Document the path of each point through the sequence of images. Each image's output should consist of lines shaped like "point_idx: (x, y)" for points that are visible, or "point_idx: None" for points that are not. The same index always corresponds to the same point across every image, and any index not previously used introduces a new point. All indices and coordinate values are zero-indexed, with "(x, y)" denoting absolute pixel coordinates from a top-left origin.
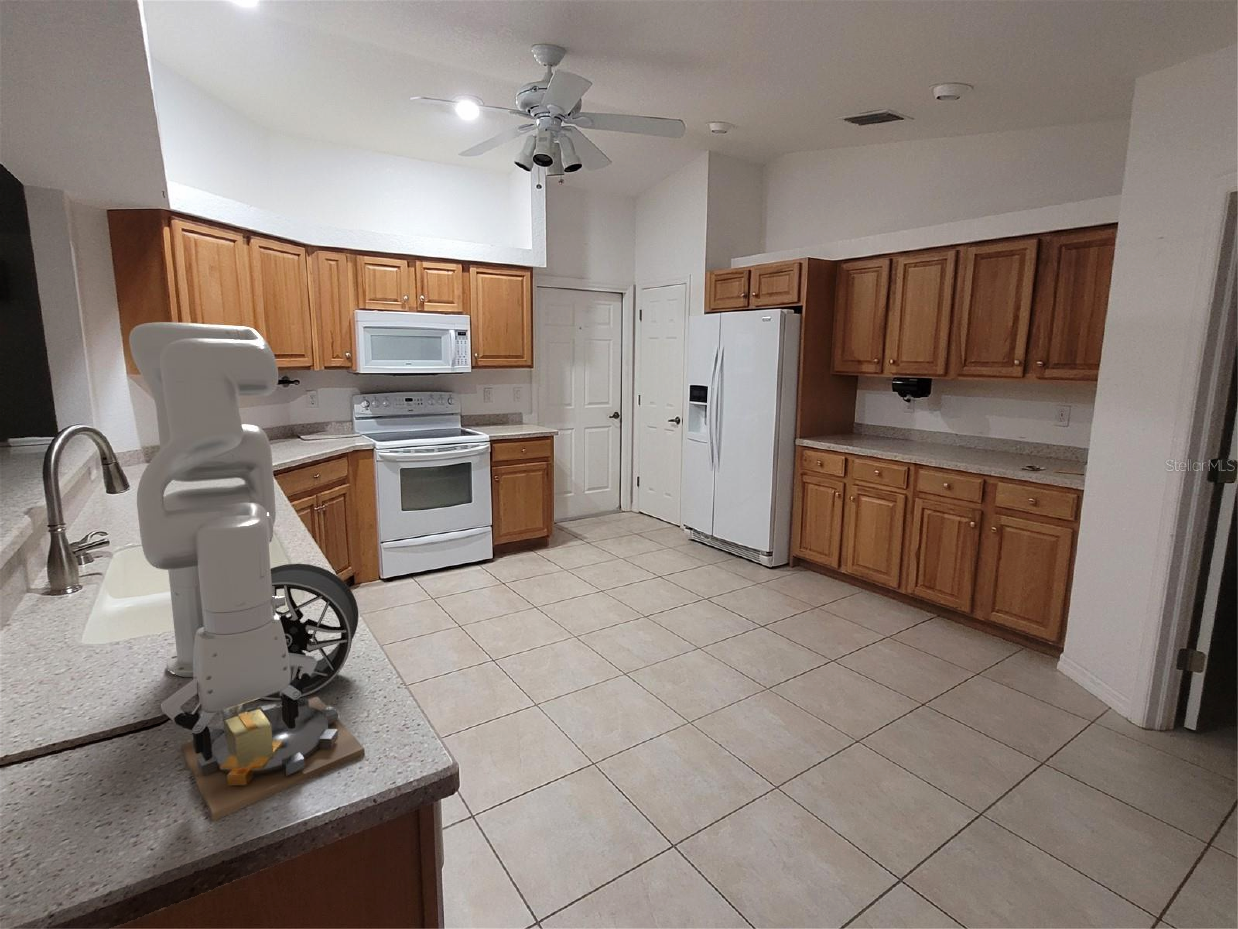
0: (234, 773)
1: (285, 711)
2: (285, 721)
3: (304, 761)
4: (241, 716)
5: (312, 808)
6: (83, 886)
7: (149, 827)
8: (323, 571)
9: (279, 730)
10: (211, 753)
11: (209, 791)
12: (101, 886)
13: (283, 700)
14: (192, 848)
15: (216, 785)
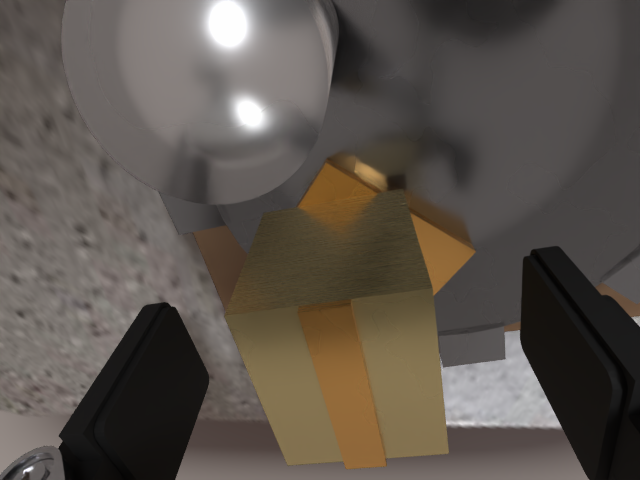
0: None
1: (557, 370)
2: (528, 307)
3: None
4: (316, 346)
5: (458, 406)
6: (45, 388)
7: (105, 294)
8: None
9: (492, 127)
10: (202, 399)
11: (226, 277)
12: (79, 401)
13: (595, 406)
14: (219, 394)
15: (243, 259)
